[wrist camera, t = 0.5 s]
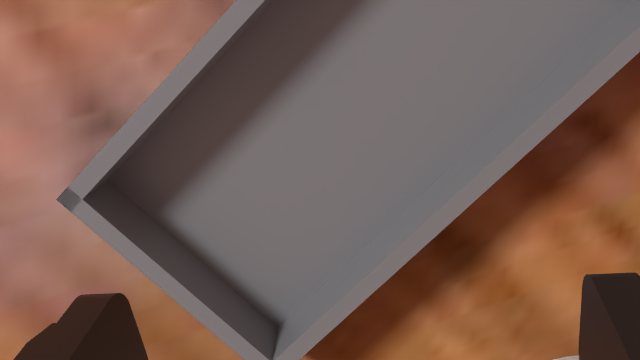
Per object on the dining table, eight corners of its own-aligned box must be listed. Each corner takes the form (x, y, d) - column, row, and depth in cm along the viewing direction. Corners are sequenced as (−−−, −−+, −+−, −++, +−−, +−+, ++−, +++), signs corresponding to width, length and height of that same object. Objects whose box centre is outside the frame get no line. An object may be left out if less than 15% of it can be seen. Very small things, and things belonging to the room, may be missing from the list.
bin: (279, 339, 40) (272, 383, 35) (91, 175, 37) (56, 199, 32) (716, -65, 33) (782, -78, 28) (526, -303, 30) (563, -362, 26)
